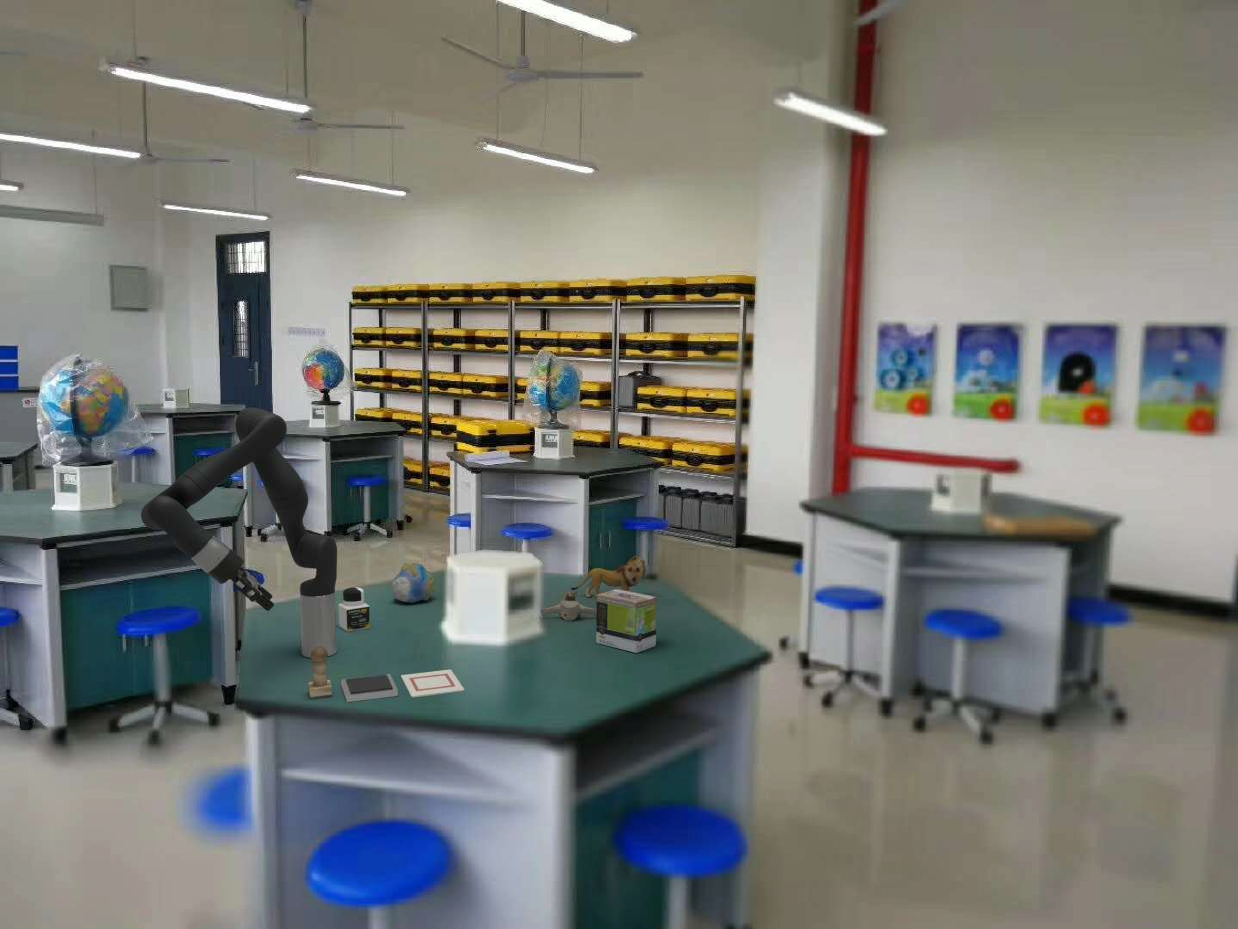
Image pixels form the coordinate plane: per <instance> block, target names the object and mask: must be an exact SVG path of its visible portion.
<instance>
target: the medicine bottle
mask: <svg viewBox="0 0 1238 929" xmlns="http://www.w3.org/2000/svg"><path fill="white" fill-rule="evenodd" d="M342 595H343V597H342V600H343V602H341V603H339V604H338V606H337V607H338V626H339V627H340V628H341V629H343V630H344V631H346V632H347V633H348V632H354V631H359V630H365V629H366V630H367V629H370V628H371V627H370V626H371V625H370V623H371V622H370V605H369V604H367V603H366V602H364V601H365V591H364V589H363V588H361V587H357V586H356V587H355V586H353V587H348V588H345V589H343V592H342Z"/></svg>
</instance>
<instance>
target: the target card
mask: <svg viewBox="0 0 1238 929" xmlns="http://www.w3.org/2000/svg"><path fill="white" fill-rule="evenodd" d="M400 677H401V679H402V681H403V683H404V685H405V687H406V690H407V691H408V693H409V695H410V697H411V698H413V699H414V698H420V697H429V696H438V695H445V694H455V693H460V692H461V693H462V692H465V688H464V686H462V684H461V682H460V680H458V678H457V676H456V675H455V673H454V672H453V670H452V669H444V670H434V671H426V672H417V673H409V674H401V675H400Z"/></svg>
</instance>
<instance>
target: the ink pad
mask: <svg viewBox="0 0 1238 929" xmlns="http://www.w3.org/2000/svg"><path fill="white" fill-rule="evenodd" d="M341 689H342V691H343V694H344V697H345V700H346V703H350V702H359V701H360V702H361V701H367V700H376V699H383V698H391V697H393V698H394V697H398V695H399V692H398V687H397V686H396V684H395V680H394V679H393V677H392V675H391V673H386V674H379V675H377V674H376V675H370V676H361V677H353V678H352V677H351V678H345V679H344V678H343V679H341Z"/></svg>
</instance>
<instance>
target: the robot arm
mask: <svg viewBox="0 0 1238 929" xmlns="http://www.w3.org/2000/svg"><path fill="white" fill-rule="evenodd" d="M234 427H235V433H236V437H237V438H238V440H239V442H238V443H236V444H235V445H233V446H230V447H229V448H227V449H225V450H223V451H220V452H218V453H215V454H212V455H210V456H208V457H206V458H204V459H201V460H200V461H198V462H196V463H195V464H194V465H193V466H191V467H190V468H189V469H188V470H186V471H185V472H184V473H183V474H181V476H179V477H178V478H177V479H176V480H175V481H174V482H173V483H172V484H171V485H170V486H169V487H167V488H166V489H164V490H163V491H162V492H160V493H159V494H157V495H156V496H154V498H152V499H150V500H149V501H148V502H147V503H146V504H144V506H143V507H142V508H141V513H140V519H141V522H142V523H143V524H144V526H145V527H147V528H148V529H151V530H155V531H159V530H160V531H161V530H162V531H163V532H164V533H166V534H167V535H168V536H169V537H170V538H171V539H173V543H174V545H175V546H176V548H177V549H179V551H181V552H182V553H183V554H185V555H186V556H187V557H188V558H189V559H191V560H192V561H193V562H194V563H195V564H196V566H198V567H199V568H200V569H201V570H202V571H204V572H205V573H206V574H207V575H208V576H210V577H211V578H212V579H214V580H215V581H216V582H217V583H218V584H219V585H223V584H225V583H227V582H228V580H231V582H233V585H232V586H233V587H234V588H235V589H236V590H238V591H239V592H240V593H241V594H242V595H244V596H245V597H246V598H247V599H249V601H250V602H252V603H257V604H258V605H259V606H261V607H262V608H263V609H264V610H265V611H266V612H269V611H270V610H271V609H272V608H274V606H275V604H274V603H275V602H273V601H271V600H272V599H273V593H270V592H269V591H268V590H267V589H266V588H264V587H263V586H262V584H261V583H260V581H259V579H257V578H255V576H253V575H252V574H251V573H250V572H248V571H247V570H246V569H244V567H242V566H243V564H244V562H245V561H244V559H243V557H241V556H240V555H239V554H238V553H237V552H236V551H234V550H233V549H231V548H230V547H229V546H228V545H227V544H226V543H224V542H223V541H222V540H220V539H219V538H217V537H216V536H214V535H213V534H212V533H210V532H209V531H208V530H207V529H206V528H205V527H203V526H202V525H200V524H199V523H198V522H197V520H195V518H194V517H193V516H192V514H190V513H189V511H188V509H189V508H190V507H192V506H193V505H195V504H197V503H198V502H200V501H201V500H202V499H204V498H205V497H206V496H207V495H208V494H209V493H211V492H212V491H213V490H214V489H216V488H217V487H218V486H219V485H221V484H222V483H223V482H224V481H225V480H227V479H228V478H229V477H231V476H233V475H234V474H235V473H237V472H238V471H240V470H242V469H243V468H245V467H247V466H248V465H250V464H251V463H253V465H254V468H255V469H256V472H257V474H258V476H259V478H260V481H261V483H262V485H263V488H264V489H265V492H266V494H267V497H268V499H269V501H270V504H271V506H272V507H273V509H274V511H275V514H276V515H277V518H278V520H279V523H280V525H281V528H282V530H283V533H284V536H285V539H286V542H287V546H288V549H289V552H290V556H291V558H292V560H293V562H294V563H295V564H296V565H297V566H298V567H300V568H303V569H315V571H316V572H315V576H314V577H313V578H310V579H307V580H304V581H302V582H301V583H300V585H299V598H300V599H299V604H300V632H301V634H300V635H301V654H302V656H303V657H305V658H309V659H311V652H312V650H313V649H315V648H316V647H323V648H325V649H326V650H327V652H328V657H330V656H333V655H335V654H336V653H337V649H338V648H337V617H336V609H337V608H336V583H337V577H338V575H337V574H338V572H337V571H338V546H337V542H336V540H335V539H334V537H333V536H331V535H323V534H321V535H320V534H310V533H309V532H308V531H307V530H306V526H305V524H304V516H305V513H306V511H307V508H308V504H309V495H308V492H307V490H306V487H305V485H304V484H305V483H304V482H303V480H302V477H301V476H300V475H299V473H298V472H297V471H296V469H295V467H293V465H292V464H291V463H290V462H289V461H288V460H287V459H286V458H285V456H283V454H282V453H281V452H280V451H279V448H278V446H279V445H280V444H282V442H283V441H284V440H285V438H286V435H287V431H288V427H287V422H286V421H285V419H284V418H283V417H282V416H281V415H278V414H276V413H274V412H271V411H269V410H265V409H262V408H259V407H258V408H257V407H245V408H243V409H242V410H240V412H239V413H238V414H237V416H236V419H235V422H234Z"/></svg>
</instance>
